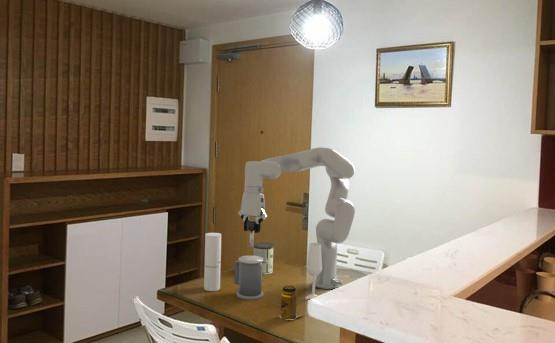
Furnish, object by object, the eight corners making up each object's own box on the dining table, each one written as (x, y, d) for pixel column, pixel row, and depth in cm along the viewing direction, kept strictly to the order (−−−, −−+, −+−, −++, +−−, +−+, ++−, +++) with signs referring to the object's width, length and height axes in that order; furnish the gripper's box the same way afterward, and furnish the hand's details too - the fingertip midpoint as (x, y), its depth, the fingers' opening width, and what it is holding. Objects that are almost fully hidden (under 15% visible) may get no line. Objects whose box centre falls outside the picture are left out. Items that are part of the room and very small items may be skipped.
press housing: (268, 294, 218) (269, 258, 217) (253, 301, 208) (254, 263, 207) (243, 288, 225) (244, 253, 224) (227, 295, 216) (228, 258, 214)
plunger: (259, 246, 215) (260, 221, 215) (252, 248, 211) (253, 222, 210) (250, 244, 218) (250, 219, 217) (243, 246, 214) (244, 221, 213)
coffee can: (254, 268, 259) (255, 242, 258) (273, 269, 258) (274, 243, 257) (251, 273, 249) (252, 246, 248) (271, 275, 248) (272, 247, 247)
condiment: (275, 317, 192) (277, 287, 191) (289, 311, 198) (290, 282, 197) (290, 322, 187) (291, 291, 186) (304, 316, 194) (305, 286, 193)
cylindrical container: (222, 287, 226) (224, 233, 224) (214, 292, 219) (215, 236, 217) (209, 285, 229) (210, 232, 227) (201, 289, 222) (202, 234, 220)
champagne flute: (302, 296, 217) (305, 242, 215) (316, 294, 220) (318, 242, 218) (309, 301, 211) (312, 246, 209) (323, 299, 214) (326, 245, 212)
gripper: (274, 191, 211) (273, 232, 213) (242, 187, 220) (241, 227, 222) (264, 192, 205) (263, 235, 206) (232, 188, 214) (231, 230, 215)
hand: (251, 231), depth 214 cm, fingers closed on plunger, 5 cm apart
